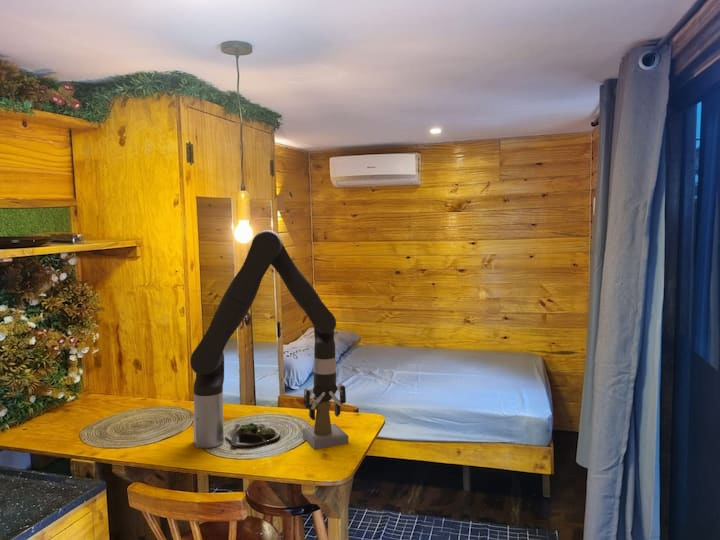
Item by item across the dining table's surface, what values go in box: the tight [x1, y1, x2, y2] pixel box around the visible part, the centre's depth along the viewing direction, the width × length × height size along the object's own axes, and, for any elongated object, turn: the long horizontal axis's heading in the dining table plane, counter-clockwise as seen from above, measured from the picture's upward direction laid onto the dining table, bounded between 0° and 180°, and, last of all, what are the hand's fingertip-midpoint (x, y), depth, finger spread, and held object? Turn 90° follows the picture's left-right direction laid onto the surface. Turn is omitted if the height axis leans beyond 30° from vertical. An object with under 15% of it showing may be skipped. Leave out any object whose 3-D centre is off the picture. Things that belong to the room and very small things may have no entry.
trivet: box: [301, 423, 349, 450], centre depth 183 cm, size 12×12×3 cm
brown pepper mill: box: [313, 400, 332, 436], centre depth 182 cm, size 6×6×11 cm
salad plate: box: [225, 422, 281, 449], centre depth 186 cm, size 19×18×5 cm
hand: (325, 417), depth 183 cm, fingers open, 8 cm apart
